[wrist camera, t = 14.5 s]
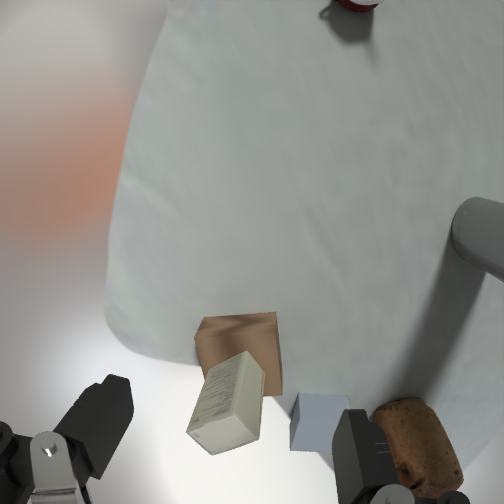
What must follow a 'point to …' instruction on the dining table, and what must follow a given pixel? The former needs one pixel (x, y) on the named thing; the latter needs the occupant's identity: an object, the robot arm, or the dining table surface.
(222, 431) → the skincare box
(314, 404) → the slate block
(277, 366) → the walnut block
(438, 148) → the dining table surface
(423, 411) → the block
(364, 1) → the cocoa
